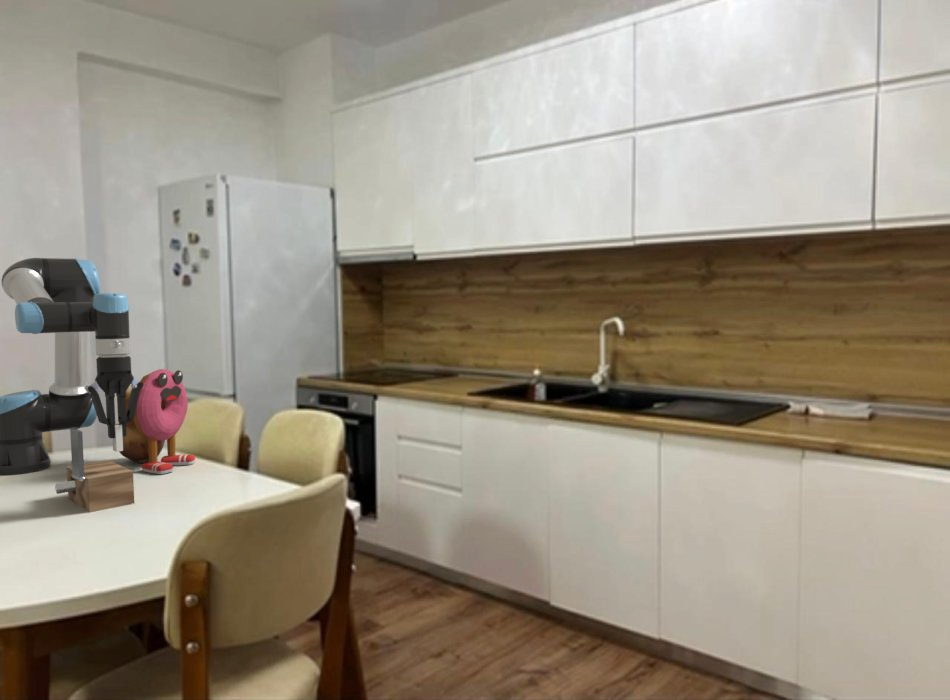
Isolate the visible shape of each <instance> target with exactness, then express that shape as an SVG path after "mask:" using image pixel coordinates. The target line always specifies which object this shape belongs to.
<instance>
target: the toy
mask: <svg viewBox="0 0 950 700" xmlns="http://www.w3.org/2000/svg"><path fill="white" fill-rule="evenodd" d="M183 379H184V375H183V372H182V371H181V370H179V369H178V370H176V371H175V372H174V371H171V370H169V369H164V368H159V369H156V370H154V371H152V372H150V373H148V374H146V375H144V376H143V377H141V379H140V381H139V382H142V383H143V384H144V385H143V387H142V388H141V390H140V392H139V397H138V402H137V407H136V411H135V416H134V423H135V425H136V428H137V430H138V431H139V432H140V433H142V434H143V435H144V436H145V437H147V438H148V446H149V448H148V449H149V462H143V463H142V464H141V469H142V472H144V473H149V474H153V475H154V474H155V475H167V474H170V473H173V471H174V468H173V466H190V465H191V466H192V465H194V463H196V455H194V454H176V434H177V433H178V432H179V431H180V429H181V428H182V425H183V424H184V421H185V419H186V415H187V413H188V407H189V406H188V404H189V403H188V397H187V391H186V389H185V388H186V387H185V386H184V383H183ZM157 440H159V441H164V440H165V441H166V447H167V448H166V449H167V455H163V456H162V457H161V458H160V461H158V457H157Z"/></svg>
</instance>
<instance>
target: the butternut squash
mask: <svg viewBox="0 0 950 700" xmlns="http://www.w3.org/2000/svg"><path fill="white" fill-rule="evenodd" d="M131 385H132V384H130V386H129V387H128V389H127V390H126V397H125V400H126V413H127V408H128V404H129V399H130V394H131V390H132V387H131ZM165 442H166V440H164V441H159V440H157V458H158V457H159V455H160V454H161V452H162V450H163V448H164V446H165V444H166V443H165ZM148 448H149V446H148V438H147V437H145V436H144V435H143V434H142V433H140V432H139V431H138V430H137V428H136V425H135V423H134V420H132V421H129V422H128V423H127V424H126V436H125V437H123V451H119V453H120V455H121V456H122V457H124V458H126V459H128V460H130V461H132V462H133V463H139V464H141V463H142V464H143V463H146V462H149V449H148Z"/></svg>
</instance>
